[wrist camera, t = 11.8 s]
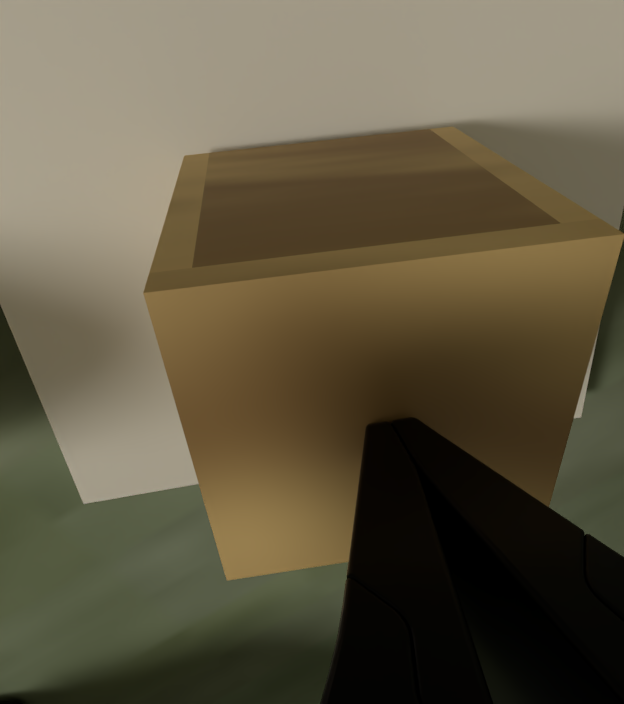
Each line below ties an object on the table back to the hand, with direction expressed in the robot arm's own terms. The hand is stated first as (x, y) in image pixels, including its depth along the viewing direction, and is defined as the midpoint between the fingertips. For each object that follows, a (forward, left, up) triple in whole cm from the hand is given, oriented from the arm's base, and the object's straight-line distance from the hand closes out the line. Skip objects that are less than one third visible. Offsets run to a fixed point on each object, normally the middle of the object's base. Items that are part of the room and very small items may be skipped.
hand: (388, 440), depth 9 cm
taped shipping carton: (+1, 0, -7) cm, 7 cm away
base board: (+1, 0, -9) cm, 9 cm away
